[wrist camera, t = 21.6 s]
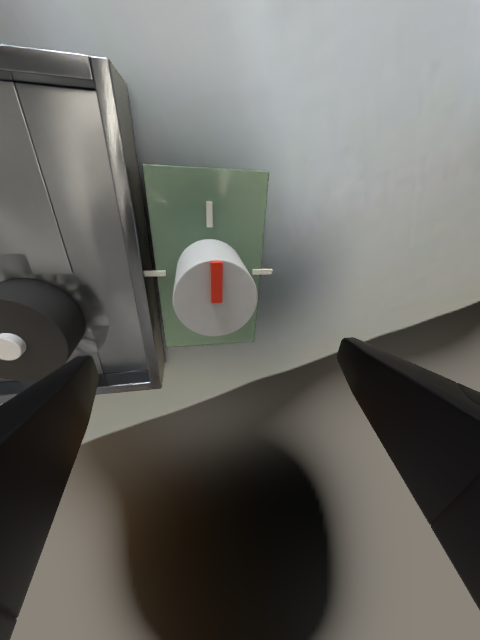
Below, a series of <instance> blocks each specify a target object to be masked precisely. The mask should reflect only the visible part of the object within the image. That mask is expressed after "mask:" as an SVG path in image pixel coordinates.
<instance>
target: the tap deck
mask: <svg viewBox="0 0 480 640" xmlns="http://www.w3.org/2000/svg"><path fill="white" fill-rule="evenodd" d="M142 168H143V175H144V183H145V190H146V198H147V206H148V213H149V221H150V228H151V236H152V244H153V251H154V259H155V266H156V270H153V271H144V274H145V277H152V276H157V282H158V289H159V297H160V304H161V312H162V320H163V327H164V335H165V342H166V347H178V346H193V345H208V344H224V343H239V342H254V337H255V325H256V314H257V305H256V308H255V311H254V313H253V315H252V316H251V318H250V319H249V321H248V322H247V323H246V324H245V325H244V326H242V327H241V328H240V329H238V330H237V331H235V332H233V333H230V334H227V335H223V336H205V335H200V334H198V333H195V332H193V331H191V330H190V329H188V328H187V327H186V326H185V325H183V323H182V322H181V321H180V320H179V318H178V317H177V315H176V313H175V310H174V307H173V290H174V283H175V276H176V269H177V263H178V260H179V258H180V256H181V254H182V253H183V251H184V250H185V249H186V248H187V247H188V246H190V245H191V244H193V243H195V242H197V241H200V240H204V239H215V240H219V241H222V242H224V243H226V244H228V245H229V246H231V247H232V248H233V249H234V250H235V251H236V252H237V254H238V255H239V257H240V259H241V260H242V262H243V264H244V265H245V267H246V269H247V270H248V272H249V274H250V275H251V277H252V279H253V280H254V282H255V285H256V288H257V294H258V292H259V281H260V275H267V274H272V269H261V258H262V247H263V236H264V224H265V213H266V202H267V191H268V180H269V171H257V170H239V169H222V168H205V167H187V166H170V165H153V164H142ZM257 303H258V296H257Z"/></svg>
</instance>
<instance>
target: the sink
mask: <svg viewBox="0 0 480 640" xmlns="http://www.w3.org/2000/svg"><path fill="white" fill-rule="evenodd" d="M16 278H26V279H34V280H38V281H42V282H45V283H48V284H50V285H53V286H55V287H57V288H58V289H60V290H62V291H63V292H65V293H66V294H67V295H69V296H70V297H71V298H72V299H73V300H74V301H75V302H76V303H77V305H78V306H79V307H80V309H81V311H82V313H83V315H84V318H85V325H86V327H85V333H84V336H83V338H82V339H81V341H80V342H79V344H78V345H77V347H76V348H75V350H74V351H73V353H72V354H71V356H70V357H69V359H68V360H67V362H69V361H70V360H72V359H73V358H75V357H77V356H85V355H90V356H92V357H93V359H94V362H95V365H96V368H97V371H98V374H104V373H105V374H106V373H118V372H131V371H143V370H148V366H147V361H146V356H145V351H144V345H143V340H142V335H141V329H140V324H139V319H138V313H137V308H136V303H135V297H134V292H133V287H132V281H131V276H130V271H129V265H128V260H127V255H126V249H125V244H124V239H123V233H122V228H121V223H120V217H119V212H118V207H117V201H116V196H115V191H114V185H113V180H112V175H111V169H110V164H109V159H108V153H107V148H106V143H105V137H104V132H103V127H102V121H101V116H100V111H99V105H98V100H97V95H96V90H90V89H81V88H71V87H61V86H52V85H42V84H33V83H23V82H13V81H4V80H0V282H2V281H5V280H9V279H16ZM67 362H66V363H67ZM66 363H65V364H66ZM6 381H14V380H7V379H2V378H0V382H6Z"/></svg>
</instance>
